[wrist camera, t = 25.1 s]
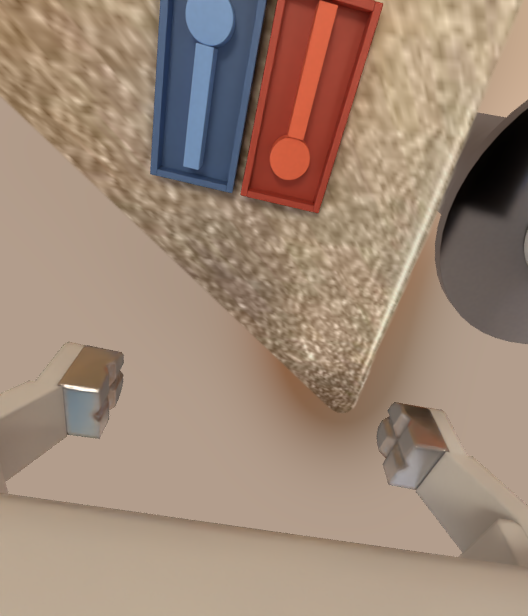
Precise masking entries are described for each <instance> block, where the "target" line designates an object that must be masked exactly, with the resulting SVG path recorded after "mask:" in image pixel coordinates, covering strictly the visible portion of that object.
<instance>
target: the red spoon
mask: <svg viewBox="0 0 528 616" xmlns="http://www.w3.org/2000/svg"><path fill="white" fill-rule="evenodd" d="M337 8H338V5H335V4H331V3H328V2H325V1H321V0H320V1H319V3H318V4H317V6H316V10H315V14H314V18H313V23H312V27H311V31H310V35H309V40H308V44H307V48H306V52H305V57H304V61H303V65H302V70H301V74H300V78H299V82H298V87H297V91H296V95H295V100H294V104H293V108H292V112H291V117H290V121H289V125H288V129H287V135H283V136H281V137H279V138H278V139H277V140H276V141H275V142H274V143H273V145H272V147H271V150H270V166H271V168H272V170H273V172H274V173H275V174H276V175H277V176H278V177H280V178H282V179H284V180H294V179H297V178H299V177H301V176H302V175H303V174H304V173H305V172H306V170H307V169H308V167H309V164H310V152H309V149H308V147H307V145H306V143H305V142H304V141H303V140H304V136H305V132H306V128H307V124H308V121H309V117H310V113H311V109H312V105H313V101H314V97H315V93H316V90H317V86H318V82H319V78H320V74H321V70H322V66H323V63H324V59H325V55H326V51H327V47H328V43H329V39H330V35H331V32H332V28H333V24H334V20H335V16H336V12H337Z"/></svg>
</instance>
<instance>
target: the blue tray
mask: <svg viewBox="0 0 528 616" xmlns="http://www.w3.org/2000/svg"><path fill="white" fill-rule="evenodd" d="M187 1H188V0H160V16H159V33H158V50H157V67H156V84H155V102H154V119H153V136H152V153H151V171H150V174H152V175H156V176H160V177H165V178H169V179H173V180H178V181H182V182H186V183H190V184H195V185H199V186H203V187H208V188H212V189H216V190H220V191H225V192H229V193H232V192H233V189H234V185H235V179H236V173H237V168H238V162H239V157H240V151H241V145H242V140H243V134H244V129H245V123H246V117H247V112H248V106H249V101H250V95H251V90H252V84H253V78H254V73H255V67H256V62H257V56H258V50H259V45H260V39H261V34H262V28H263V22H264V17H265V11H266V6H267V0H229V1H230V2H231V4H232V6H233V9H234V12H235V18H236V23H235V30H234V33H233V35H232V37H231V39H230V40H229V41H228V42H227V43H226V44H225V45H223V46H221V47H217V48H216V49H218V53H217V61H216V69H215V76H214V84H213V91H212V99H211V106H210V114H209V122H208V129H207V137H206V144H205V152H204V159H203V165H202V166H201V167H200V169H199V170H196V169H192V168H188V167H184V166H183V162H184V153H185V143H186V133H187V124H188V114H189V105H190V95H191V86H192V76H193V67H194V57H195V48H196V43H199V44H201V43H200V42H198V41H197V40H196V39H195V38H194V37H193V36H192V34H191V33H190V31H189V29H188V26H187V23H186V18H185V9H186V4H187Z"/></svg>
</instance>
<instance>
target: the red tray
mask: <svg viewBox="0 0 528 616" xmlns="http://www.w3.org/2000/svg"><path fill="white" fill-rule="evenodd" d="M319 1H320V0H277V5H276V10H275V16H274V21H273V26H272V31H271V37H270V42H269V47H268V52H267V58H266V63H265V68H264V73H263V79H262V84H261V89H260V95H259V100H258V105H257V110H256V116H255V121H254V126H253V131H252V137H251V142H250V147H249V152H248V158H247V163H246V168H245V173H244V179H243V184H242V189H241V195H242V196H247V197H250V198H255V199H259V200H263V201H268V202H272V203H276V204H280V205H285V206H289V207H293V208H298V209H302V210H306V211H310V212H312V211H313V212H315V213H319V209H320V206H321V203H322V200H323V196H324V193H325V190H326V187H327V184H328V180H329V177H330V174H331V171H332V168H333V164H334V161H335V158H336V155H337V151H338V148H339V145H340V142H341V139H342V135H343V132H344V129H345V126H346V123H347V119H348V116H349V113H350V110H351V106H352V103H353V100H354V97H355V94H356V90H357V87H358V84H359V81H360V78H361V74H362V71H363V68H364V65H365V61H366V58H367V55H368V52H369V49H370V45H371V42H372V39H373V36H374V33H375V29H376V26H377V23H378V20H379V16H380V13H381V10H382V7H383V3H380V2H375V1H373V0H321V1H325V2H328V3H331V4H335V5H338V8H337V12H336V16H335V20H334V24H333V28H332V32H331V35H330V39H329V43H328V47H327V51H326V55H325V59H324V63H323V66H322V70H321V74H320V78H319V82H318V86H317V90H316V93H315V97H314V101H313V105H312V109H311V113H310V117H309V121H308V124H307V128H306V132H305V136H304V140H303V141H304V142H305V143H306V145H307V147H308V149H309V152H310V164H309V167H308V169H307V170H306V172H305V173H304V174H303V175H302V176H301V177H299V178H297V179H294V180H284V179H282V178H280V177H278V176H277V175H276V174H275V173H274V172H273V170H272V168H271V166H270V150H271V147H272V145H273V143H274V142H275V141H276V140H277V139H278V138H279V137H281V136H283V135H287V129H288V125H289V121H290V117H291V112H292V108H293V104H294V100H295V95H296V91H297V87H298V82H299V78H300V74H301V70H302V65H303V61H304V57H305V52H306V48H307V44H308V40H309V35H310V31H311V27H312V23H313V18H314V14H315V10H316V6H317V4H318V3H319Z"/></svg>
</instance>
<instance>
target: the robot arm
mask: <svg viewBox="0 0 528 616" xmlns="http://www.w3.org/2000/svg"><path fill="white" fill-rule="evenodd" d="M524 256H525V260H526V263H527V265H528V229H527V232H526V236H525V241H524ZM123 363H124V355H123V353H122V352H117V351H113V350H107V349H103V348H98V347H93V346H88V345H87V346H86V345H81V344H76V343H72V342H67V343H66V344H64V345H63V346H62V347H61V349H60V350H59V351H58V352H57V354H56V355H55V356H54V357H53V359H52V360H51V362H50V363H49V364H48V365H47V367H46V368H45V369H44V370H43V372H42V373H41V374H40V375H39V377H38V378H37V379H36V380H35V381H27V382H25V383H23V384H20V385H18V386H16V387H14V388H12V389H10V390H7V391H5V392H3V393H1V394H0V616H528V505H527V504H526V503H524V502H523V501H522V500H521V499H520V498H519V497H518V496H517V495H515V494H514V493H513V492H512V491H511V490H510V489H509V488H507V487H506V486H505V485H504V484H503V483H502V482H501V481H500V480H499V479H497V478H496V477H495V476H494V475H493V474H492V473H491V472H490V471H488V470H487V469H486V468H485V467H484V466H483V465H482V464H480V463H479V462H478V461H477V460H476V459H475V458H474V457H473V456H468V455H467V453H466V451H465V450H464V448H463V446H462V444H461V442H460V440H459V438H458V436H457V434H456V432H455V430H454V428H453V426H452V424H451V422H450V420H449V419H448V417H447V415H446V413H445V412H444V411H443V410H439V409H433V408H425V407H420V406H414V405H408V404H403V403H396V402H395V403H393V404H392V405H391V406H390V408H389V409H388V413H389V417H387V418H385V419H384V420H382V422H381V423H380V425H379V427H378V431H377V445H378V449H379V451H380V453H381V454H382V455H383V456H384V457H385V458H386V459H385V461H384V463H383V467H384V470H385V474H386V477H387V481H388V484H389V485H394V486H399V487H404V488H410V489H414V490H416V493H417V494H418V495H419V496H420V498H421V499H422V500H423V502H424V503H425V504H426V506H427V507H428V508H429V509H430V511H431V512H432V513H433V515H434V516H435V517H436V519H437V520H438V521H439V523H440V524H441V525H442V526H443V528H444V529H445V530H446V532H447V533H448V534H449V536H450V537H451V538H452V539H453V541H454V542H455V543H456V545H457V546H458V547H459V549H460V550H461V551H462V554H461V555H460V556H459V557H452V556H445V555H438V554H431V553H424V552H417V551H410V550H403V549H396V548H389V547H381V546H374V545H366V544H360V543H353V542H346V541H338V540H331V539H323V538H317V537H310V536H302V535H295V534H288V533H281V532H273V531H266V530H260V529H252V528H246V527H238V526H232V525H224V524H218V523H210V522H203V521H196V520H189V519H182V518H175V517H168V516H160V515H153V514H147V513H139V512H132V511H125V510H118V509H111V508H104V507H97V506H90V505H83V504H76V503H68V502H61V501H53V500H47V499H40V498H33V497H26V496H18V495H12V494H8V491H7V487H6V483H5V482H6V481H7V480H9V479H10V478H11V477H13V476H14V475H15V474H17V473H18V472H19V471H21V470H22V469H23V468H25V467H26V466H27V465H29V464H30V463H32V462H33V461H34V460H36V459H37V458H38V457H40V456H41V455H42V454H44V453H45V452H46V451H48V450H49V449H51V448H52V447H53V446H54V445H56V444H57V443H59V442H60V441H61V440H63V439H64V438H65V437H67V435H75V436H82V437H90V438H100V437H101V435H102V433H103V431H104V429H105V427H106V425H107V423H108V420H109V410H111V409H112V408H114V407H115V406H116V404H117V401H118V399H119V396H120V393H121V390H122V384H123V374H122V373H121V371H120V369H121V367H122V365H123Z"/></svg>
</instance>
